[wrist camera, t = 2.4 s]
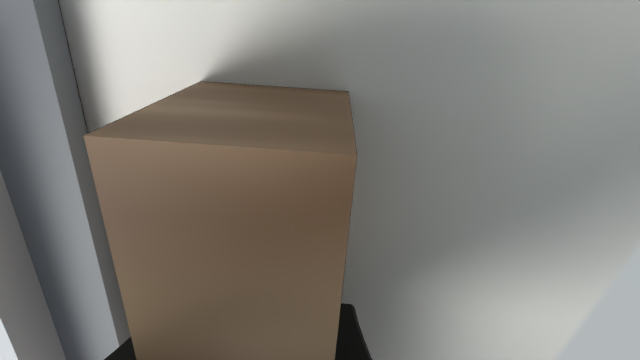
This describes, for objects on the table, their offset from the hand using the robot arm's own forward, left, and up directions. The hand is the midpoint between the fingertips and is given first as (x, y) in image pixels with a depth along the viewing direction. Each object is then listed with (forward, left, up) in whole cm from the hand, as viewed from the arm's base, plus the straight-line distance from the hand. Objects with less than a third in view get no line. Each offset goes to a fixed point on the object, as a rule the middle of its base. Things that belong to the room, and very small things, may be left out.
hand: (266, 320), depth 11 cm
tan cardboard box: (0, 0, -2) cm, 2 cm away
